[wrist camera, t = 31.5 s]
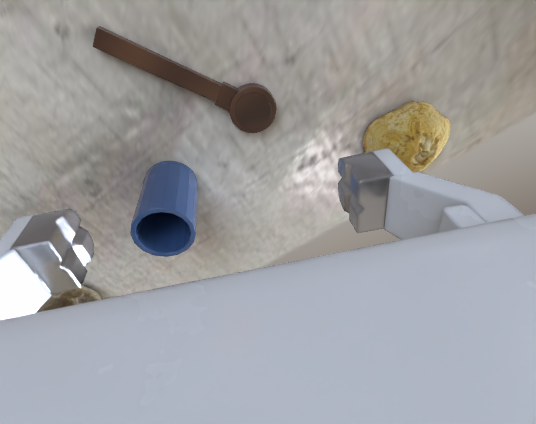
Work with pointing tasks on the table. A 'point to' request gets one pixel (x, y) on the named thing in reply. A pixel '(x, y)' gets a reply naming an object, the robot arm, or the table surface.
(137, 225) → the cup
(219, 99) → the spoon
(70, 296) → the stone
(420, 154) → the fossil
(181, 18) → the table surface
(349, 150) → the table surface
